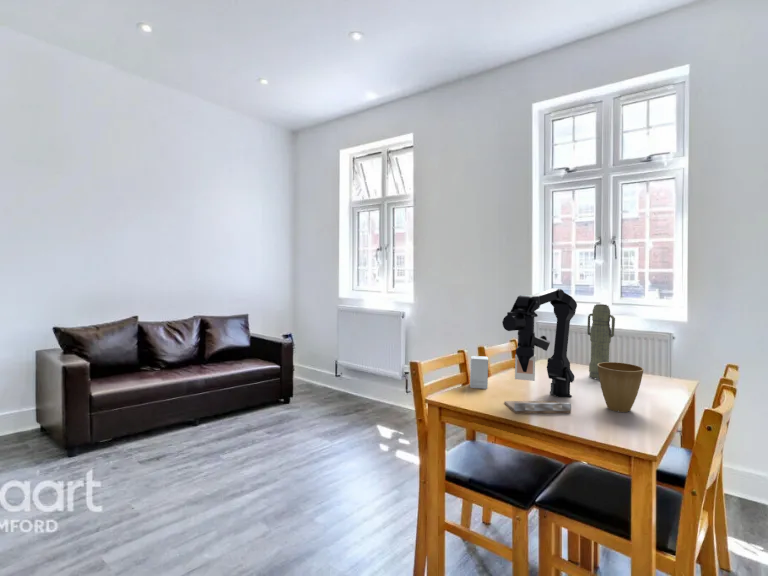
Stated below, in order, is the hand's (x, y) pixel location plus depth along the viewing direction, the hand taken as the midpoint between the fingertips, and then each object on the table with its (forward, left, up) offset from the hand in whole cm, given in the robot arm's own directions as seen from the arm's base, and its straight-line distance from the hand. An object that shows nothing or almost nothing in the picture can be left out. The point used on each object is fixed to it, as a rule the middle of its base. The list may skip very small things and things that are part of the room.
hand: (525, 370), depth 167 cm
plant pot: (-33, +6, -13) cm, 36 cm away
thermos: (-53, -43, -13) cm, 70 cm away
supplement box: (+10, -27, -13) cm, 32 cm away
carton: (0, 0, -3) cm, 3 cm away
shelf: (-3, +4, -13) cm, 14 cm away
